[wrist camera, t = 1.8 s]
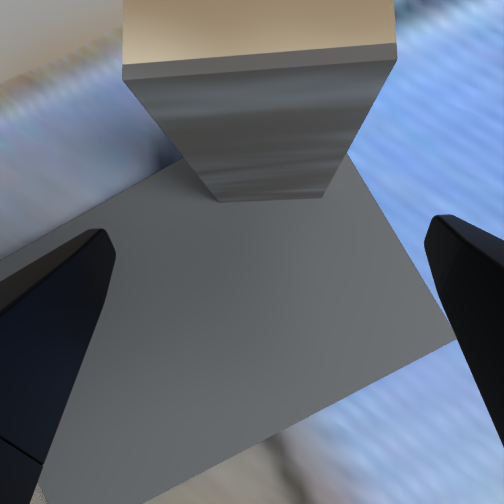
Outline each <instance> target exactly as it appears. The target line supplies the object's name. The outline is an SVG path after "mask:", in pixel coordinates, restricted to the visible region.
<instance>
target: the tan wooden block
mask: <svg viewBox="0 0 504 504" xmlns="http://www.w3.org/2000/svg"><path fill="white" fill-rule="evenodd" d="M396 61H397V45H396V29H395V14H394V0H123V68H122V80H123V82H124V83H125V84H126V85H127V87H128V88H129V89H130V90H131V92H132V93H133V94H134V95H135V97H136V98H137V99H138V100H139V102H140V103H141V104H142V106H143V107H144V108H145V109H146V111H147V112H148V113H149V114H150V116H151V117H152V118H153V119H154V121H155V122H156V123H157V124H158V126H159V127H160V128H161V129H162V131H163V132H164V133H165V135H166V136H167V137H168V138H169V140H170V141H171V142H172V143H173V145H174V146H175V147H176V148H177V150H178V151H179V152H180V153H181V155H182V156H183V157H184V159H185V160H186V161H187V162H188V164H189V165H190V166H191V167H192V169H193V170H194V171H195V172H196V174H197V175H198V176H199V177H200V179H201V180H202V181H203V182H204V184H205V185H206V186H207V188H208V189H209V190H210V191H211V193H212V194H213V195H214V196H215V198H216V199H217V200H218V201H219V203H225V202H248V201H271V200H294V199H317V198H322V197H323V195H324V193H325V191H326V190H327V188H328V186H329V184H330V182H331V180H332V179H333V177H334V175H335V173H336V171H337V169H338V168H339V166H340V164H341V162H342V160H343V158H344V156H345V155H346V153H347V151H348V149H349V147H350V145H351V144H352V142H353V140H354V138H355V136H356V134H357V133H358V131H359V129H360V127H361V125H362V123H363V122H364V120H365V118H366V116H367V114H368V112H369V111H370V109H371V107H372V105H373V103H374V101H375V99H376V98H377V96H378V94H379V92H380V90H381V88H382V87H383V85H384V83H385V81H386V79H387V77H388V76H389V74H390V72H391V70H392V68H393V66H394V65H395V63H396Z"/></svg>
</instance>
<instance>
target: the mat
mask: <svg viewBox="0 0 504 504" xmlns="http://www.w3.org/2000/svg"><path fill="white" fill-rule="evenodd" d="M92 228H103V229H105V230H106V231H107V233H108V235H109V237H110V239H111V242H112V244H113V246H114V248H115V251H116V260H115V264H114V268H113V272H112V276H111V280H110V284H109V288H108V292H107V296H106V300H105V303H104V306H103V309H102V311H101V314H100V317H99V319H98V322H97V325H96V327H95V330H94V333H93V335H92V338H91V341H90V343H89V346H88V349H87V351H86V354H85V357H84V359H83V362H82V365H81V367H80V370H79V373H78V375H77V378H76V381H75V383H74V386H73V389H72V391H71V394H70V397H69V399H68V402H67V405H66V407H65V410H64V413H63V415H62V418H61V421H60V423H59V426H58V429H57V431H56V434H55V437H54V439H53V442H52V444H51V447H50V450H49V452H48V455H47V458H46V460H45V463H44V464H43V469H42V472H41V474H40V477H39V480H38V481H39V484H40V486H41V488H42V491H43V493H44V496H45V498H46V500H47V503H48V504H142V503H144V502H146V501H148V500H150V499H152V498H154V497H156V496H158V495H160V494H161V493H163V492H165V491H167V490H169V489H171V488H173V487H175V486H177V485H179V484H181V483H182V482H184V481H186V480H188V479H190V478H192V477H194V476H196V475H198V474H200V473H202V472H203V471H205V470H207V469H209V468H211V467H213V466H215V465H217V464H219V463H221V462H223V461H224V460H226V459H228V458H230V457H232V456H234V455H236V454H238V453H240V452H242V451H244V450H246V449H247V448H249V447H251V446H253V445H255V444H257V443H259V442H261V441H263V440H265V439H267V438H268V437H270V436H272V435H274V434H276V433H278V432H280V431H282V430H284V429H286V428H288V427H289V426H291V425H293V424H295V423H297V422H299V421H301V420H303V419H305V418H307V417H309V416H310V415H312V414H314V413H316V412H318V411H320V410H322V409H324V408H326V407H328V406H330V405H332V404H333V403H335V402H337V401H339V400H341V399H343V398H345V397H347V396H349V395H351V394H353V393H354V392H356V391H358V390H360V389H362V388H364V387H366V386H368V385H370V384H372V383H374V382H375V381H377V380H379V379H381V378H383V377H385V376H387V375H389V374H391V373H393V372H395V371H397V370H398V369H400V368H402V367H404V366H406V365H408V364H410V363H412V362H414V361H416V360H418V359H419V358H421V357H423V356H425V355H427V354H429V353H431V352H433V351H435V350H437V349H439V348H440V347H442V346H444V345H446V344H448V343H450V342H452V341H454V340H456V339H457V338H456V336H455V333H454V331H453V329H452V327H451V325H450V324H449V322H448V320H447V319H446V317H445V315H444V314H443V312H442V310H441V309H440V307H439V305H438V304H437V302H436V300H435V299H434V297H433V295H432V294H431V292H430V290H429V289H428V287H427V285H426V284H425V282H424V280H423V279H422V277H421V275H420V274H419V272H418V270H417V269H416V267H415V265H414V264H413V262H412V260H411V259H410V257H409V255H408V254H407V252H406V250H405V249H404V247H403V245H402V244H401V242H400V240H399V239H398V237H397V235H396V234H395V232H394V230H393V229H392V227H391V225H390V224H389V222H388V221H387V219H386V217H385V216H384V214H383V212H382V211H381V209H380V207H379V206H378V204H377V202H376V201H375V199H374V197H373V196H372V194H371V192H370V191H369V189H368V187H367V186H366V184H365V182H364V181H363V179H362V177H361V176H360V174H359V172H358V171H357V169H356V167H355V166H354V164H353V162H352V161H351V159H350V157H349V156H348V154H347V153H346V155H345V156H344V158H343V160H342V162H341V164H340V166H339V168H338V169H337V171H336V173H335V175H334V177H333V179H332V180H331V182H330V184H329V186H328V188H327V190H326V191H325V193H324V195H323V197H322V198H317V199H294V200H271V201H248V202H225V203H219V201H218V200H217V199H216V198H215V196H214V195H213V194H212V193H211V191H210V190H209V189H208V188H207V186H206V185H205V184H204V182H203V181H202V180H201V179H200V177H199V176H198V175H197V174H196V172H195V171H194V170H193V169H192V167H191V166H190V165H189V164H188V162H187V161H186V160H185V159H184V157H183V158H182V159H180V160H178V161H176V162H174V163H173V164H171V165H169V166H167V167H166V168H164V169H162V170H160V171H159V172H157V173H155V174H153V175H151V176H150V177H148V178H146V179H144V180H143V181H141V182H139V183H137V184H135V185H134V186H132V187H130V188H128V189H127V190H125V191H123V192H121V193H119V194H118V195H116V196H114V197H112V198H111V199H109V200H107V201H105V202H104V203H102V204H100V205H98V206H96V207H95V208H93V209H91V210H89V211H88V212H86V213H84V214H82V215H80V216H79V217H77V218H75V219H73V220H72V221H70V222H68V223H66V224H64V225H63V226H61V227H59V228H57V229H56V230H54V231H52V232H50V233H49V234H47V235H45V236H43V237H41V238H40V239H38V240H36V241H34V242H33V243H31V244H29V245H27V246H25V247H24V248H22V249H20V250H18V251H17V252H15V253H13V254H11V255H9V256H8V257H6V258H4V259H2V260H1V261H0V281H1V280H3V279H5V278H6V277H8V276H10V275H12V274H13V273H15V272H17V271H18V270H20V269H22V268H23V267H25V266H27V265H28V264H30V263H32V262H33V261H35V260H37V259H39V258H40V257H42V256H44V255H45V254H47V253H49V252H50V251H52V250H54V249H55V248H57V247H59V246H61V245H62V244H64V243H66V242H67V241H69V240H71V239H72V238H74V237H76V236H77V235H79V234H81V233H83V232H84V231H86V230H88V229H92Z"/></svg>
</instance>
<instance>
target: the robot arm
mask: <svg viewBox="0 0 504 504" xmlns="http://www.w3.org/2000/svg"><path fill="white" fill-rule="evenodd" d="M424 248H425V252H426V255H427V259H428V262H429V265H430V269H431V272H432V276H433V279H434V283H435V286H436V290H437V293H438V296H439V298H440V301H441V303H442V306H443V308H444V310H445V312H446V315H447V317H448V319H449V322H450V324H451V326H452V329H453V331H454V333H455V336H456V338H457V340H458V343H459V345H460V347H461V349H462V352H463V354H464V356H465V359H466V361H467V363H468V366H469V368H470V370H471V373H472V375H473V377H474V380H475V382H476V384H477V387H478V389H479V391H480V393H481V396H482V398H483V400H484V403H485V405H486V407H487V410H488V412H489V414H490V417H491V419H492V421H493V424H494V426H495V428H496V430H497V433H498V435H499V437H500V440H501V442H502V444H503V447H504V240H502V239H500V238H498V237H496V236H494V235H492V234H490V233H488V232H486V231H484V230H482V229H480V228H478V227H476V226H474V225H472V224H470V223H468V222H466V221H464V220H462V219H460V218H458V217H456V216H454V215H450V214H448V215H436V216H434V217H433V218H432V220H431V223H430V226H429V229H428V231H427V234H426V237H425V241H424ZM115 260H116V251H115V248H114V246H113V244H112V242H111V239H110V237H109V235H108V233H107V231H106V230H105V229H103V228H92V229H88V230H86V231H84V232H83V233H81V234H79V235H77V236H76V237H74V238H72V239H71V240H69V241H67V242H66V243H64V244H62V245H61V246H59V247H57V248H55V249H54V250H52V251H50V252H49V253H47V254H45V255H44V256H42V257H40V258H39V259H37V260H35V261H33V262H32V263H30V264H28V265H27V266H25V267H23V268H22V269H20V270H18V271H17V272H15V273H13V274H12V275H10V276H8V277H6V278H5V279H3V280H1V281H0V504H30V501H31V498H32V496H33V493H34V490H35V488H36V485H37V482H38V480H39V477H40V474H41V472H42V469H43V464H44V463H45V460H46V458H47V455H48V452H49V450H50V447H51V444H52V442H53V439H54V437H55V434H56V431H57V429H58V426H59V423H60V421H61V418H62V415H63V413H64V410H65V407H66V405H67V402H68V399H69V397H70V394H71V391H72V389H73V386H74V383H75V381H76V378H77V375H78V373H79V370H80V367H81V365H82V362H83V359H84V357H85V354H86V351H87V349H88V346H89V343H90V341H91V338H92V335H93V333H94V330H95V327H96V325H97V322H98V319H99V317H100V314H101V311H102V309H103V306H104V303H105V300H106V296H107V292H108V288H109V284H110V280H111V276H112V272H113V268H114V264H115Z"/></svg>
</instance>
